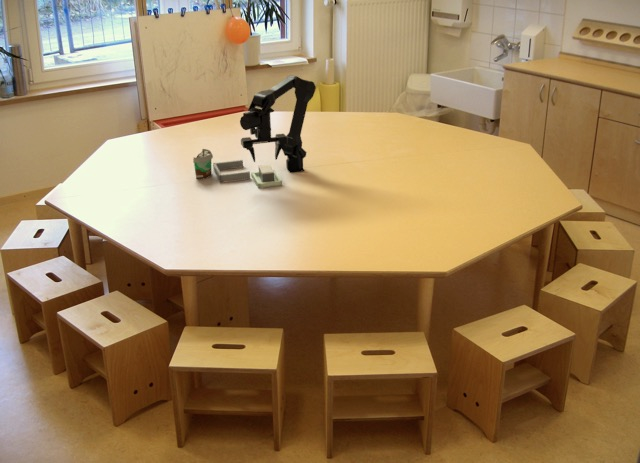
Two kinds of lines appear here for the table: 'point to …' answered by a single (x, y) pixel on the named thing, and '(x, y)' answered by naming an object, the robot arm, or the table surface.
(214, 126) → the table surface
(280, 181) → the tray
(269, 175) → the beige gray rectangular block
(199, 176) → the food container
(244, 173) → the bay
